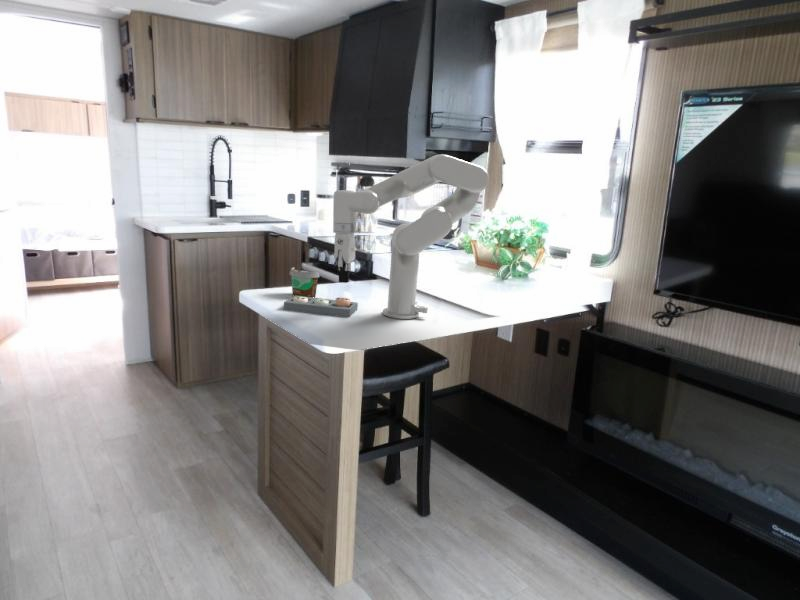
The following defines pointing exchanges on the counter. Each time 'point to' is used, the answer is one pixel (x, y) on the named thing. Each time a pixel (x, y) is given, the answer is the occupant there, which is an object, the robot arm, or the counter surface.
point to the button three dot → (342, 302)
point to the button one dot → (321, 301)
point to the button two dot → (300, 299)
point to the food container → (304, 282)
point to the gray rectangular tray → (320, 307)
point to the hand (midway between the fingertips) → (343, 282)
